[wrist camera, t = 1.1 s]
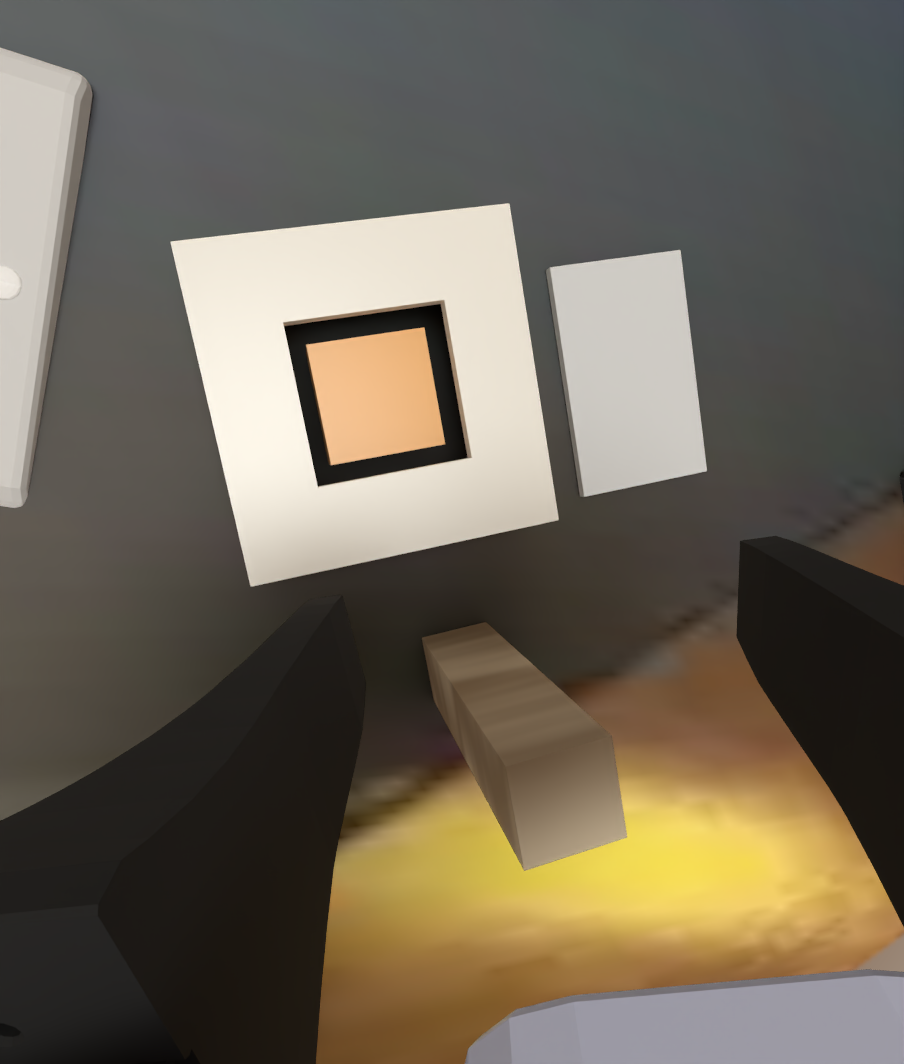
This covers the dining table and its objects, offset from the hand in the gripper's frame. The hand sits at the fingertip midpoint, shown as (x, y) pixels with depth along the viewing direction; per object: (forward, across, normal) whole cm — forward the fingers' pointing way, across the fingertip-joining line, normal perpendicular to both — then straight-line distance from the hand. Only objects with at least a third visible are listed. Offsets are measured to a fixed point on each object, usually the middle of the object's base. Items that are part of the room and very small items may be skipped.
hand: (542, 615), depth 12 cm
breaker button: (+10, +4, -2) cm, 11 cm away
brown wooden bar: (+9, +3, +8) cm, 12 cm away
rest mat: (+14, -5, -1) cm, 15 cm away
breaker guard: (+11, +4, -2) cm, 12 cm away
